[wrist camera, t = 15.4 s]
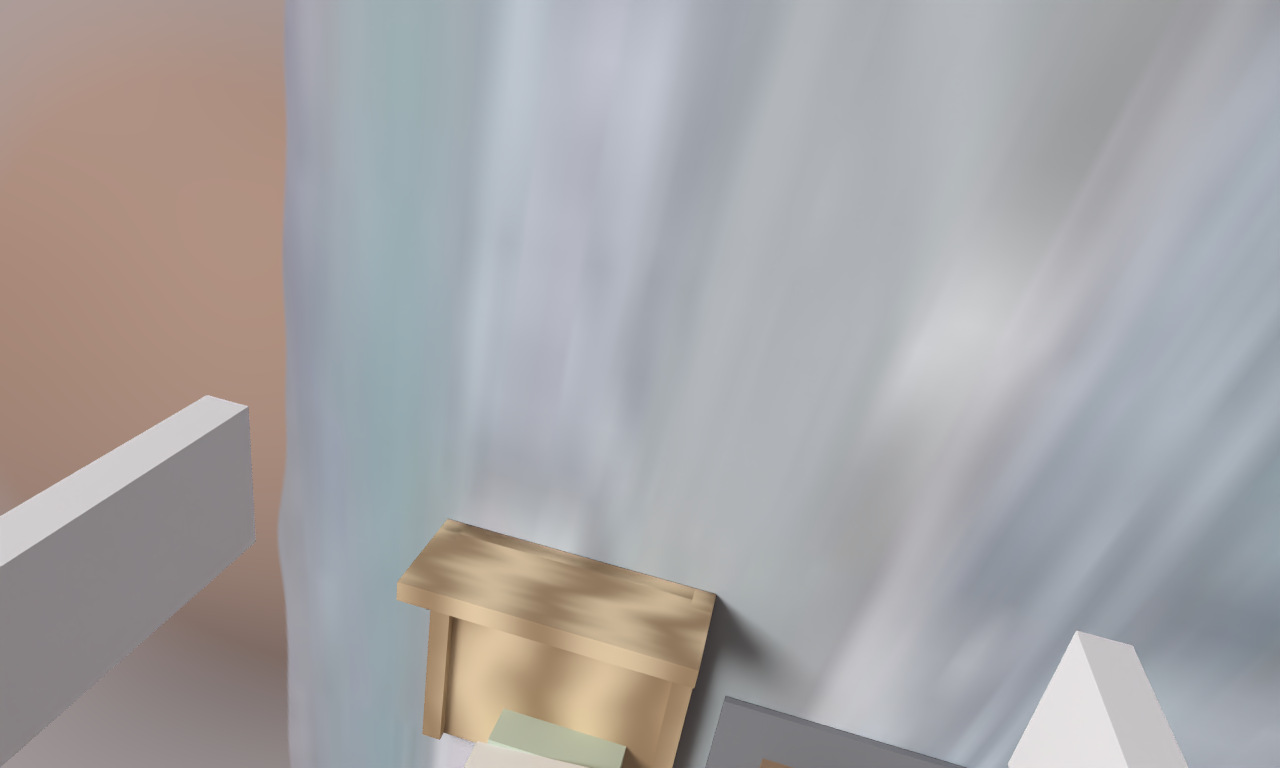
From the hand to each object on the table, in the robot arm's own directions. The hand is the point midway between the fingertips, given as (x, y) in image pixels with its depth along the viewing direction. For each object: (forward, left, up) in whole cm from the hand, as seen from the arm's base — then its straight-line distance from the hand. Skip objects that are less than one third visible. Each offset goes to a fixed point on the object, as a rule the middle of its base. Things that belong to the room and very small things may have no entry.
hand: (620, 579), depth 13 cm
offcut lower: (+5, +35, -26) cm, 44 cm away
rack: (+6, +29, -27) cm, 40 cm away
